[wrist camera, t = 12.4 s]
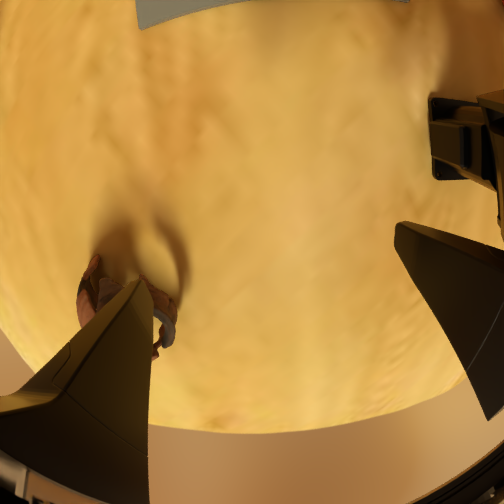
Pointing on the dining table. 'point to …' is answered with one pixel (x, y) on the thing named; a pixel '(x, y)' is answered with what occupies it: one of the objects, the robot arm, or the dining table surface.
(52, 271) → the dining table surface
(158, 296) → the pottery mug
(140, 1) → the mat
